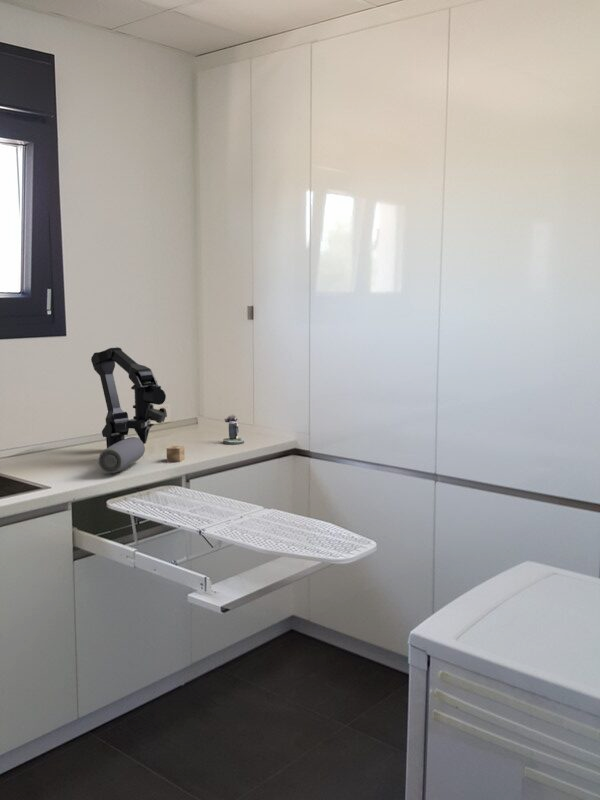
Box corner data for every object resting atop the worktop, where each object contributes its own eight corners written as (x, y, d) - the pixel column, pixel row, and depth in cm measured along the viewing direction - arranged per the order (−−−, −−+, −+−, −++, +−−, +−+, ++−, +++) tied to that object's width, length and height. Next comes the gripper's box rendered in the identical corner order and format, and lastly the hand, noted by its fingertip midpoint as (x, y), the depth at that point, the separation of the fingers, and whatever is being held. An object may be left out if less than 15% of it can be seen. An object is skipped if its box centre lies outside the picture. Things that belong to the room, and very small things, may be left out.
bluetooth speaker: (122, 462, 292) (121, 435, 290) (146, 462, 290) (145, 435, 289) (97, 476, 270) (96, 447, 268) (123, 477, 268) (122, 448, 267)
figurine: (229, 445, 320) (228, 416, 318) (219, 442, 327) (218, 413, 325) (247, 443, 325) (247, 414, 323) (237, 440, 332) (237, 411, 330)
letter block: (166, 461, 292) (166, 448, 291) (171, 459, 296) (171, 445, 296) (179, 462, 291) (179, 448, 290) (184, 459, 295) (184, 445, 295)
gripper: (152, 406, 284) (154, 449, 286) (172, 399, 302) (173, 439, 304) (123, 405, 287) (125, 448, 289) (145, 398, 305) (146, 438, 307)
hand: (144, 443), depth 297 cm, fingers closed
